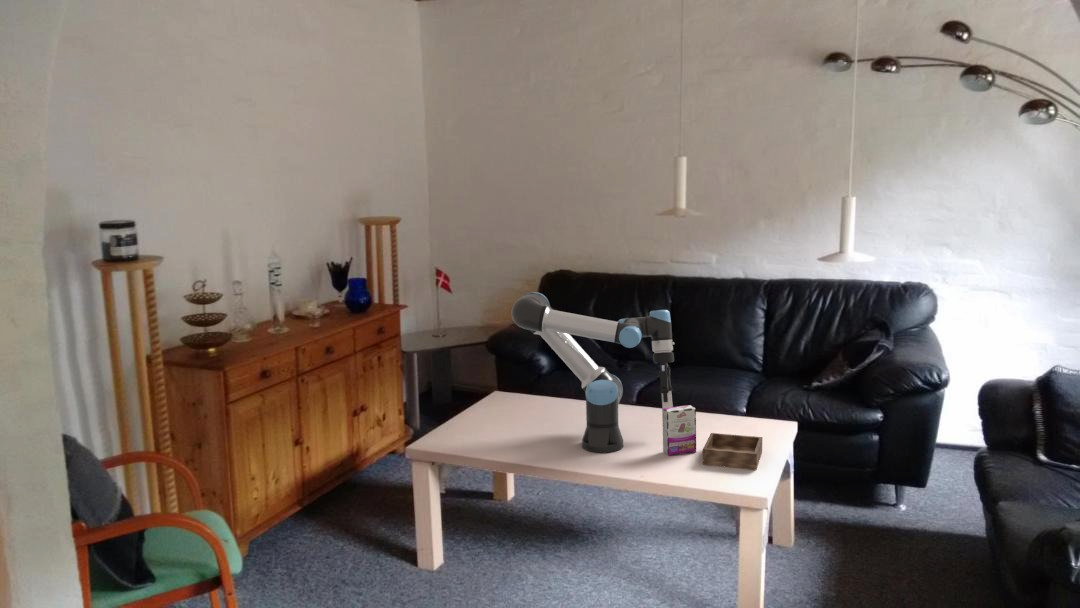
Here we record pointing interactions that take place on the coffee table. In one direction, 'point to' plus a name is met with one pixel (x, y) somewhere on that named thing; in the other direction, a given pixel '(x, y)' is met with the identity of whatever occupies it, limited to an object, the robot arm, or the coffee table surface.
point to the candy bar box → (679, 430)
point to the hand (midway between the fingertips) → (667, 410)
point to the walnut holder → (732, 451)
